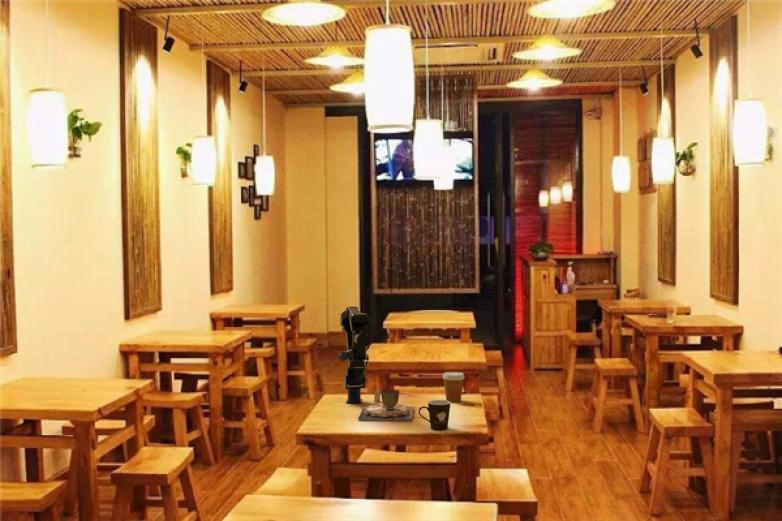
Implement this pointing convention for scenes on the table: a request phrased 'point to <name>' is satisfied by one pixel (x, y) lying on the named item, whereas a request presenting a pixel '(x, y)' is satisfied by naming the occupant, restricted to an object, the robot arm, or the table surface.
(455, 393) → the disposable coffee cup
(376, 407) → the index wheel
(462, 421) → the table surface
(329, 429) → the table surface
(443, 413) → the coffee mug
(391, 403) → the cup
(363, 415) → the base plate
